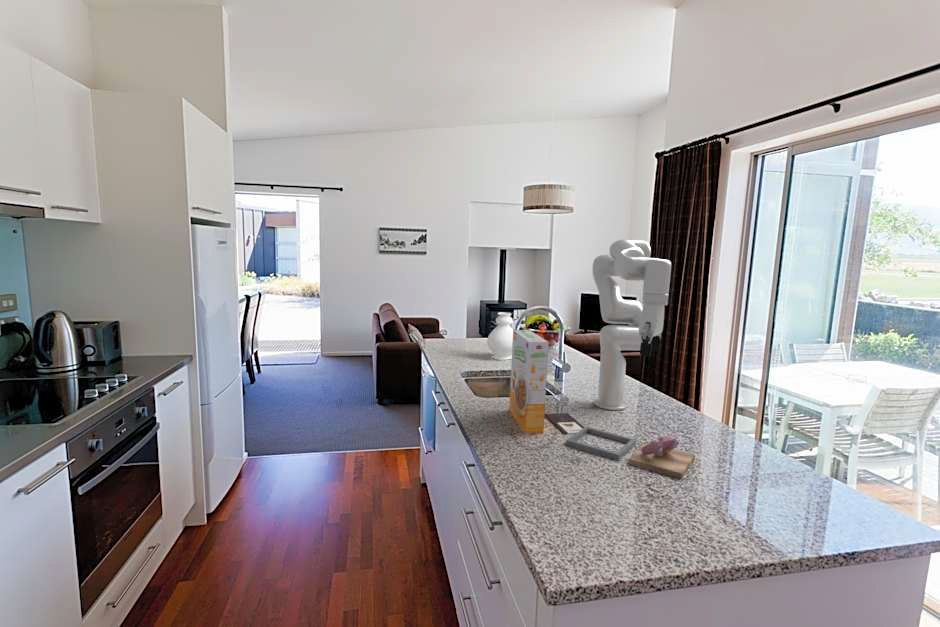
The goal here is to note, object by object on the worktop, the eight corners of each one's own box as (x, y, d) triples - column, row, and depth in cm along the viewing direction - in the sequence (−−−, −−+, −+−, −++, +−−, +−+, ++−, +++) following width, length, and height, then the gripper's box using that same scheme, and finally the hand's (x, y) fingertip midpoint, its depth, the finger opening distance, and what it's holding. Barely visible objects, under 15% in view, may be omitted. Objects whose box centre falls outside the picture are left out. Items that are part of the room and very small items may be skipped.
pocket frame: (585, 430, 157) (586, 426, 156) (635, 444, 147) (636, 439, 147) (565, 444, 144) (566, 440, 144) (618, 460, 135) (619, 455, 134)
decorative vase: (502, 353, 275) (504, 310, 271) (525, 359, 261) (527, 314, 258) (479, 356, 263) (481, 312, 260) (502, 363, 250) (504, 316, 246)
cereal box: (509, 410, 174) (513, 330, 170) (525, 410, 175) (529, 330, 171) (524, 433, 152) (529, 341, 148) (543, 433, 153) (548, 342, 149)
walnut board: (645, 446, 146) (645, 441, 145) (694, 459, 137) (695, 454, 137) (628, 463, 133) (628, 458, 133) (681, 479, 125) (682, 473, 124)
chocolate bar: (567, 413, 172) (589, 431, 155) (567, 415, 172) (589, 434, 155) (544, 413, 170) (564, 432, 153) (543, 416, 170) (563, 435, 153)
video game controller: (649, 463, 133) (660, 446, 130) (638, 451, 137) (649, 434, 133) (673, 457, 138) (684, 441, 134) (662, 445, 141) (673, 429, 138)
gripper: (650, 296, 156) (646, 347, 158) (633, 300, 142) (628, 355, 144) (674, 298, 151) (669, 350, 154) (659, 302, 138) (654, 360, 140)
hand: (649, 353), depth 149 cm, fingers open, 9 cm apart
